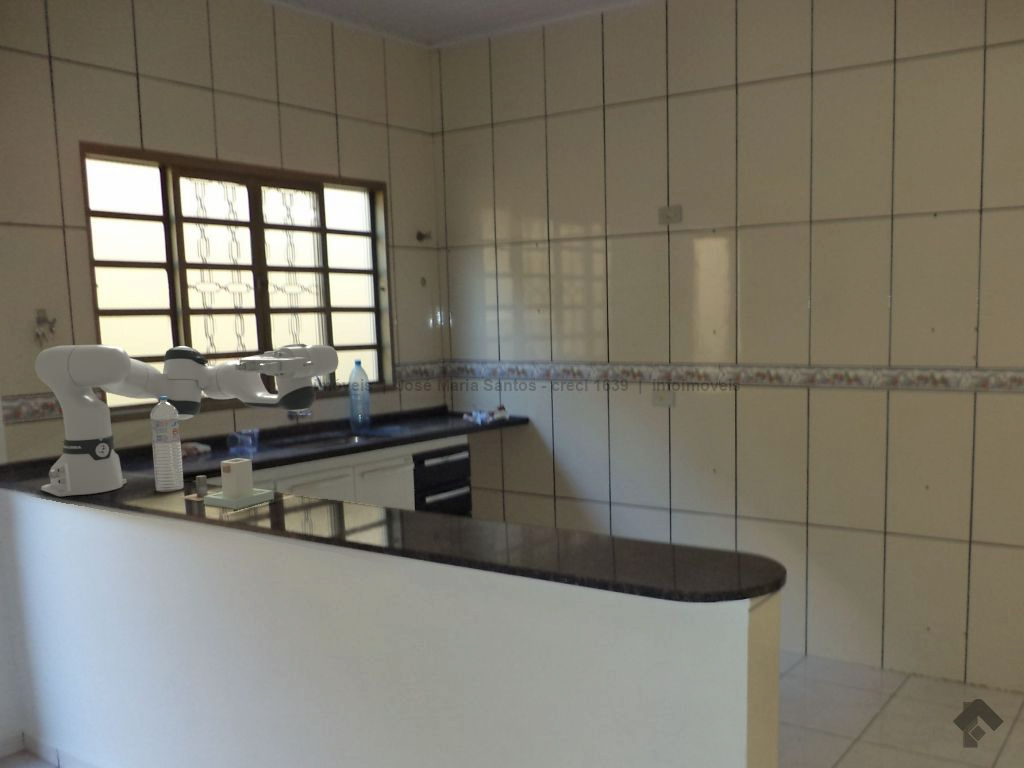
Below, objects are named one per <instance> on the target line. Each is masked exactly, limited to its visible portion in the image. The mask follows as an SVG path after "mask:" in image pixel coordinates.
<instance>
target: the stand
mask: <svg viewBox="0 0 1024 768" xmlns="http://www.w3.org/2000/svg"><path fill="white" fill-rule="evenodd" d="M195 484H196V485H195V486H196V487H195V488H196V493H192V494H189V495H184V496H180V497H179V499H184V500H190V501H196V502H201V501H204V496H207V495H211V494H215V493H216V492H214V491H208V479H207V475H197V476H195Z"/></svg>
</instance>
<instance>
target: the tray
mask: <svg viewBox="0 0 1024 768" xmlns="http://www.w3.org/2000/svg"><path fill="white" fill-rule="evenodd" d="M253 492H254V495H250V496H246V497H243V498H239V499H231V498H224V497H223V491H219V492H215V494H211V495H207V496H204V500H203V503H204V505H206V506H207V505H209V506H214V507H221V508H227V509H228V508H229V509H233V511H232V512H238V510H239V511H242V510H241V509H243V510H246V509H250V508H252V506H254V507H256V506H255V505H257V506H259V505H258V504H261V505H263V504H262V503H264V502H268V501H271V500H274V501H275V495H274V490H270V489H262V488H255V487H253ZM268 503H269V502H268ZM249 507H250V508H249ZM245 508H246V509H245Z"/></svg>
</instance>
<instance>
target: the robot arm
mask: <svg viewBox="0 0 1024 768" xmlns="http://www.w3.org/2000/svg"><path fill="white" fill-rule="evenodd" d="M163 363H164V365H163V369H162V370H163V371H162V372H161V371H160V370H158V369H157V368H155V367H154V366H153V365H150V364H149V363H146V362H144V361H142V360H139V359H135V358H130V356H129V354H128V353H127V351H126V350H125V349H124V348H122V347H119V346H113V345H108V344H78V345H76V344H74V345H73V344H72V345H71V344H70V345H57V346H52V347H49V348H46V349H44V350H42V351H40V352H39V353H38V355H37V357H36V359H35V363H34V370H35V373H36V375H37V378H38V379H39V380H40V381H41V382H42V383H44V384H45V385H46V386H47V387H49V388H50V390H51V391H52V392H53V394H54V396H55V397H56V400H57V401H58V403H59V406H60V408H61V412H62V418H63V424H64V434H65V435H64V436H65V439H64V440H63V441H61V443H63V444H61V446H62V453H63V454H62V455H61V456H60V457H59V458H58V459H57V460H56V462H55V463H54V464H53V465H52V466H51V467H50V470H49V471H48V476H49V479H50V483H48V484H44V485H42V486H41V488H40V490H41V491H43V492H46V493H49V494H51V495H54V496H56V497H66V496H67V497H68V496H78V495H79V496H80V495H82V496H83V495H91V494H93V495H94V494H98V493H105V492H110V491H114V490H117V489H120V488H122V487H123V486H124V484H127V479H126V478H123V473H122V468H121V467H122V466H121V461H120V457H119V454H118V453H116V451H115V450H114V449H115V447H116V446H115V443H116V441H115V439H114V435H113V434H112V422H111V409H110V407H109V406H108V404H106V403H105V402H104V401H102V400H100V399H99V398H98V396H96V394H95V393H94V390H93V388H92V387H94V388H95V387H96V388H97V387H98V388H100V389H101V390H102V391H104V392H105V393H107V394H110V395H111V394H113V395H117V396H121V397H126V398H129V399H130V398H131V399H139V400H140V399H144V400H145V399H146V400H147V399H156V400H157V402H155V406H156V405H157V404H159V403H160V399H159V397H162V396H167V402H168V403H170V404H171V405H173V406H174V407H175V408H176V409H177V411H178V415H179V417H178V420H189V419H192V418H195V417H197V416H198V415H199V414H200V411H201V407H202V403H201V401H202V392H203V393H204V395H205V396H206V397H208V398H211V399H213V400H230V399H231V400H232V399H238V400H239V401H241V402H242V403H243V404H244V405H245V406H247V407H250V408H258V409H273V410H283V411H288V412H290V411H291V412H303V411H305V410H308V409H310V408H312V406H313V404H314V403H315V401H316V398H317V395H316V392H315V387H314V386H313V380H312V378H315V377H320V376H325V375H329V374H331V373H334V372H335V371H336V370H337V369H338V367H339V355H338V352H337V351H336V349H335V348H334V347H333V346H330V345H324V344H310V345H307V344H306V343H295V344H293V343H292V344H287V345H282V346H280V347H279V348H278V349H275V350H270V351H269V350H268V351H264V353H263V354H256V355H252V356H247V357H243V358H240V359H239V360H231V361H227V362H223V363H220V364H217V365H212V366H211V365H210V366H208V365H207V364H208V363H209V360H208V359H207V358H206V357H205V356H204V355H203V354H202V353H201V352H199V350H197V349H196V348H193V347H189V346H185V345H184V346H183V345H181V346H180V345H179V346H175V347H171V348H169V349H167V350H166V351H165V354H164V358H163ZM261 374H265V375H266V376H271V377H275V380H276V386H277V393H276V394H275V393H274V394H273V393H270V392H269V391H268V390H267V389H266V387H265V385H264V383H263V380H262V378H261Z"/></svg>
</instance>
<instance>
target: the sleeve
mask: <svg viewBox="0 0 1024 768" xmlns="http://www.w3.org/2000/svg"><path fill="white" fill-rule="evenodd" d="M252 463H253V462H252V459H248V458H240V457H239V458H238V457H237V458H232V459H228V460H222V461H220V471H221V472H220V473H221V475H220V476H221V487H222V488H221V489H222V492H223V497H224V498H231V499H239V498H243V497H246V496H250V495H254V492H253V488H254V479H253V465H252Z"/></svg>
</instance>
